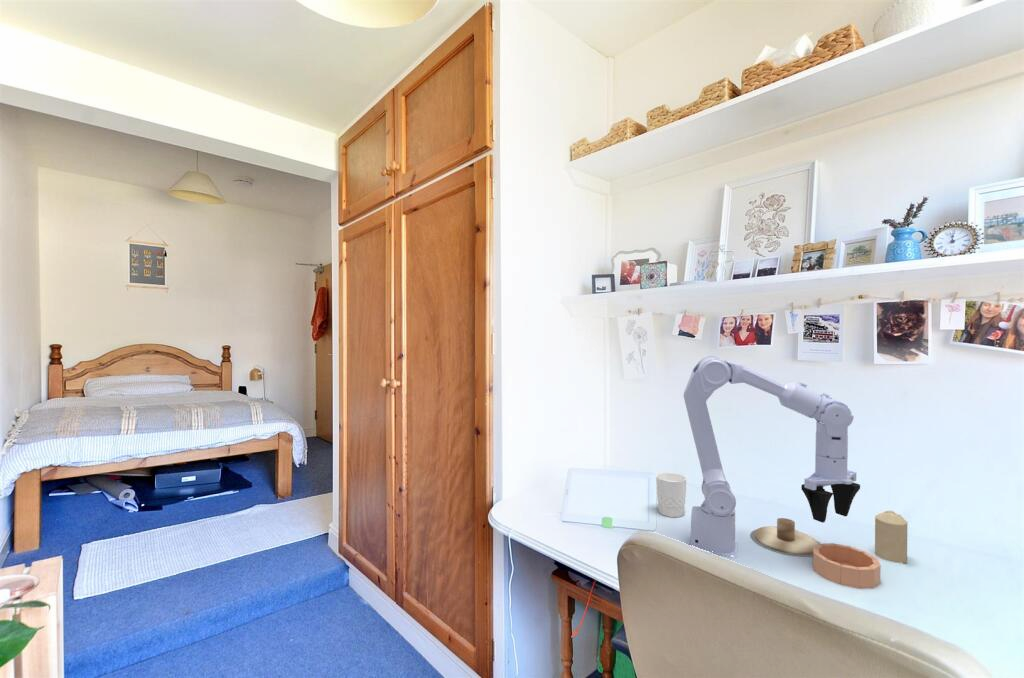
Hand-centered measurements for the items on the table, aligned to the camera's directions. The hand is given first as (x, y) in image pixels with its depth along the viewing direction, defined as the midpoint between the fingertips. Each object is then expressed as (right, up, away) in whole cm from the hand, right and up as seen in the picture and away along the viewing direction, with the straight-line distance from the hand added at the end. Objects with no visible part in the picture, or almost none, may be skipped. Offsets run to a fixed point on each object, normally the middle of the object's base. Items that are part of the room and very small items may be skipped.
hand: (830, 517), depth 101 cm
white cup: (-25, -10, +28) cm, 39 cm away
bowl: (-1, -10, -5) cm, 11 cm away
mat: (-4, -10, +9) cm, 14 cm away
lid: (-4, -9, +9) cm, 14 cm away
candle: (+14, -10, +2) cm, 17 cm away
